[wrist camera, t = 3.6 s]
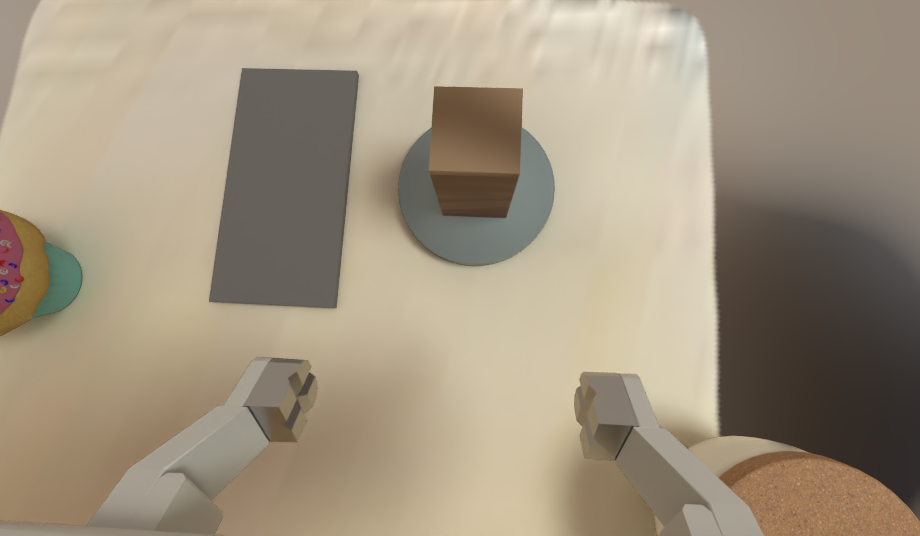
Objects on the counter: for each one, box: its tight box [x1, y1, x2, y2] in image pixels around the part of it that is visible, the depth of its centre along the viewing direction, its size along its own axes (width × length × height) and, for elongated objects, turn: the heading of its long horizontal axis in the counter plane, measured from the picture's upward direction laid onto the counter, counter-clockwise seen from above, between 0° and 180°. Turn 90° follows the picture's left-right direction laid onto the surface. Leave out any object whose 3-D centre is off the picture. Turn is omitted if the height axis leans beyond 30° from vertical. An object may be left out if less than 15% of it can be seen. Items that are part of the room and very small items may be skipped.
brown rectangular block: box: [429, 87, 523, 218], centre depth 22 cm, size 4×4×8 cm
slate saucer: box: [398, 128, 555, 266], centre depth 25 cm, size 11×11×3 cm
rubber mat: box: [209, 68, 359, 308], centre depth 27 cm, size 18×9×1 cm, turn 177°
